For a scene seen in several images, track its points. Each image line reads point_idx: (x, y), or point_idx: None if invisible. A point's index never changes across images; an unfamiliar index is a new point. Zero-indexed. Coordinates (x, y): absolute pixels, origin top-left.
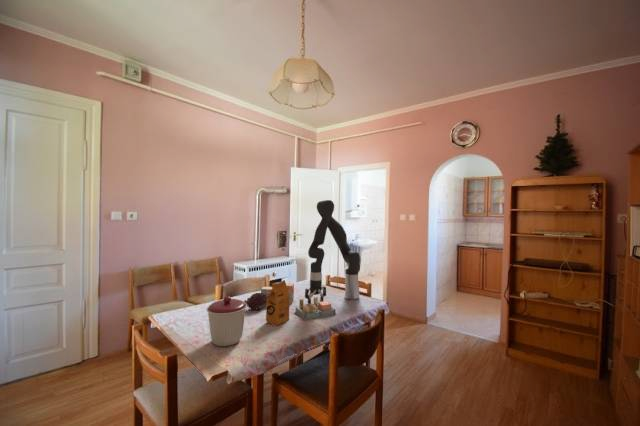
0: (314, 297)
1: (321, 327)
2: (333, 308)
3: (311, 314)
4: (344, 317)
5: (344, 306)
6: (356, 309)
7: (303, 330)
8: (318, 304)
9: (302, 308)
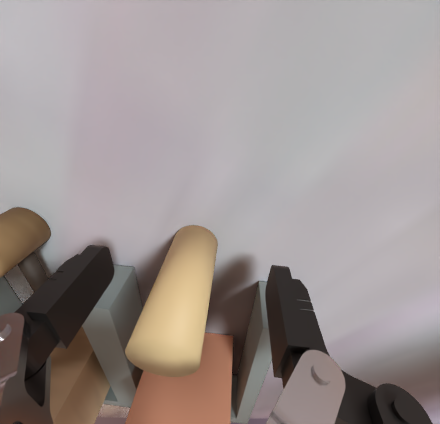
0: (138, 352)
1: (110, 408)
2: (242, 417)
3: None
4: (258, 409)
5: (429, 349)
6: (423, 399)
7: None
8: (133, 410)
9: (22, 270)
